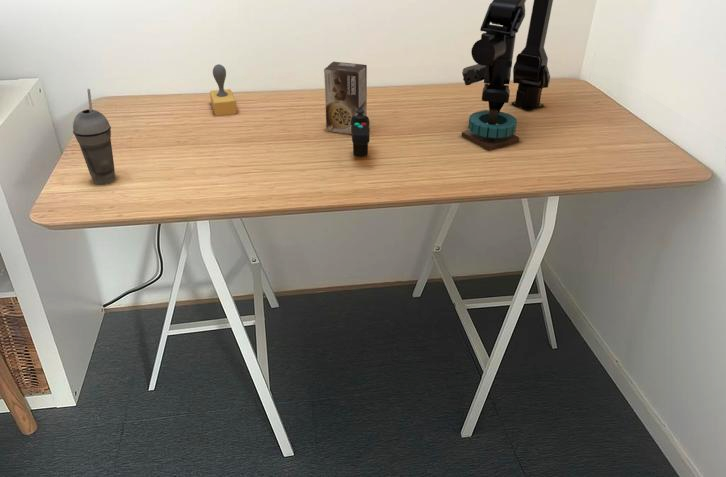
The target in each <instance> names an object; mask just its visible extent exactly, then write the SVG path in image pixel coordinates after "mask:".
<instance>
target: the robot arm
mask: <svg viewBox="0 0 726 477" xmlns="http://www.w3.org/2000/svg"><path fill="white" fill-rule="evenodd" d="M526 1H527V0H492V1H491V3H490V4H489V5H488V8H487V11H486V13H485V15H484V18H483V21H482V23H481V26H480V28H479V30H480V32H483V33H481V35H480V39H478V40H476V41H475V42H474V44H473V45H472V47H471V51H470V52H471V53H470V54H471V57H472V60H473V61H474V62H475V63H476V64H473V65H470V66H466V67H463V69H462V72H461V74H462V77H463V79H462V80H463V81H464V85H465V86H471V85H472V84H475V83H479V82H482V81H483V84H484V86H483V88H482V91H481V92H482V93H481V101H482V102H486V103H487V102H488V111H489V110H490V108H497V109H498V113H499V112H501V110H502V109H503V107H504V105H505V104H508V103H509V101H510V95H511V92H510V91H511V90H510V82H511V75H512V79H513V80H512V83H513V84H518V86H517V90H516V94H515V100H514V101H511V105H513V106H515V107H518V108H520V109H523V110H525V111H532V110H535V109H539V108H544V103H541V98H542V92H543V89H547V88H549V84H550V82H551V74H550V70H549V67H548V60H549V59H548V55H547V52H546V50H545V44H546V39H547V33H548V28H549V23H550V18H551V13H552V7H553V4H554V3H553V2H554V0H533V4H532V8H531V9H532V10H531V14H530V21H529V25H528V31H527V38H526V42H525V46H524V48H523V49H522V50H521V52H520V53H518V54H517V55H516V58H515V63H514V65H513V59H514V58H513V57H514V50H515V43H516V35H517V34H518V33H519V29H520V27H521V25H522V24H523V21H524V19H525V17H526ZM511 73H512V74H511ZM498 113H497V115H498Z"/></svg>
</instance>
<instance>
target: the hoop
mask: <svg viewBox="0 0 726 477" xmlns="http://www.w3.org/2000/svg"><path fill="white" fill-rule="evenodd" d="M488 118H489V109H487V110H480V111H479V110H478V111H475V112H473V113H472V114H470V115H469V117H468V126H467V127H468V128H467V129H468V130H470V131H471V132H472V133H475V134H477V135H479V136H483V137H487V136H488V138H496V137H497V138H503V137H508V136H511V135H513V134H514V135H515V133H516V131H517V127H518V126H517V125H518V120H517V118H516V117H515V116H514V115H512V114H510V113H508V112H504V111H500V112H499V113H498V115H497V121H496V125H491V124H488Z"/></svg>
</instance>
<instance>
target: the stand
mask: <svg viewBox="0 0 726 477" xmlns="http://www.w3.org/2000/svg"><path fill="white" fill-rule="evenodd" d="M488 111H489V118H488V123H487V124H491V125H497V124H496V121H497V113H498V109H497V108H490V110H489V109H488ZM460 136H461V137H462V138H464V139H465V140H467V141H470V142H471V143H473V144H475V145H477V146H479V147H481V148H482V149H485V150H487V151H492V150H495V149H499V148H503V147H506V146H509V145H512V144H515V143H519V142H520V139H521V137H520V136H518V135H516V134H515V133H514V134H513V135H511V136H508V137H503V138H497V137H496V138H488V136H487V137H483V136H479V135H477V134H475V133H472V132H471V131H470V130H469V129H467V130H464V131H463V130H462V131H461V135H460Z"/></svg>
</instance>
